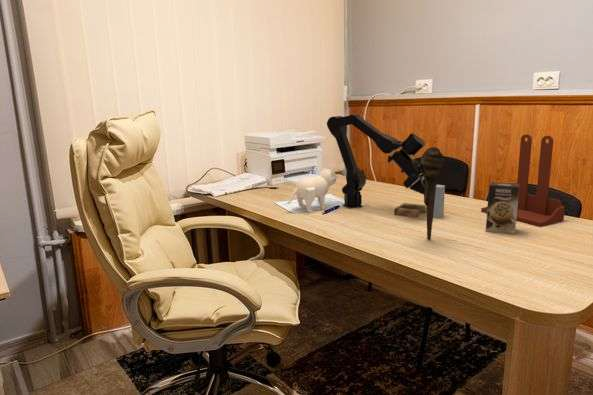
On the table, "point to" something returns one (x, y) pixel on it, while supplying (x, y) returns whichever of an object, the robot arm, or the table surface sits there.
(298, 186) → the cat figurine
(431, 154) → the decorative torch
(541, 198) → the hanging shelf
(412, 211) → the slot block
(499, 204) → the coffee box
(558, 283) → the table surface
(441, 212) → the peg
